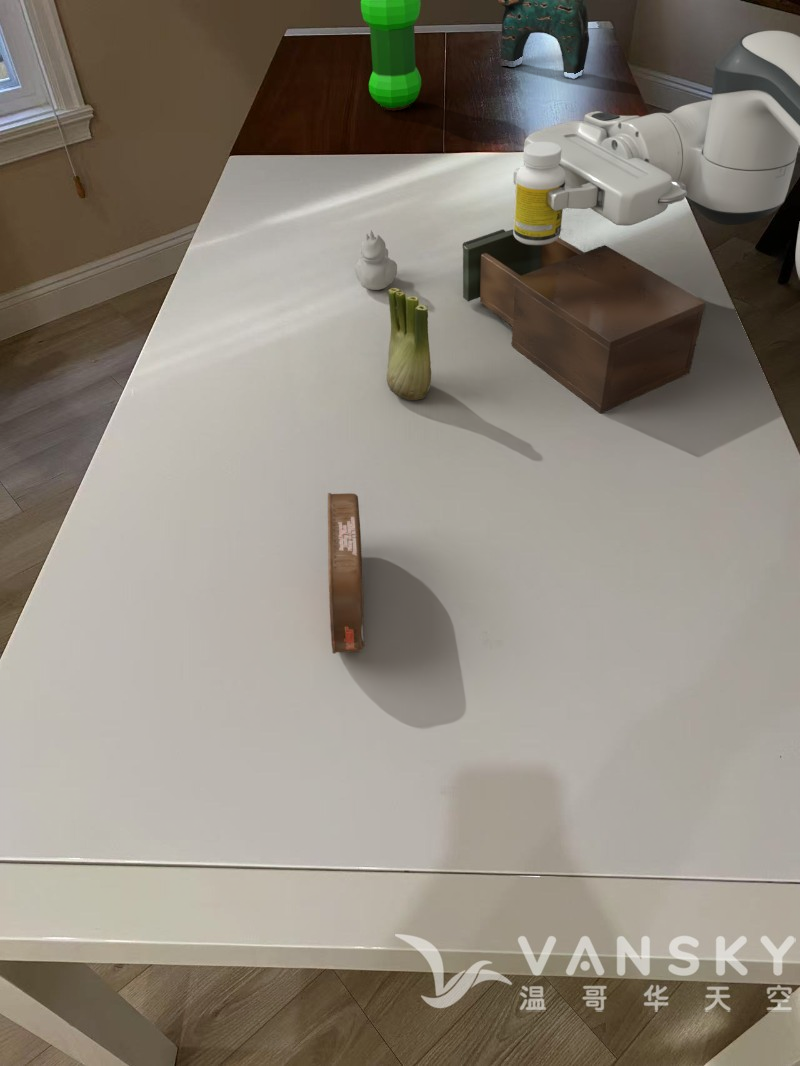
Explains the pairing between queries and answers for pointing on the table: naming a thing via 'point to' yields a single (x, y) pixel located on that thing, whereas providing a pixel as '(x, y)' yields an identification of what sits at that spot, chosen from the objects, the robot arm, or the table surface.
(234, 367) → the table surface
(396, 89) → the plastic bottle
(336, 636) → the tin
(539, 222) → the supplement bottle
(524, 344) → the cabinet
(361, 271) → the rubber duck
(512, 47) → the ceramic cat
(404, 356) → the fennel bulb
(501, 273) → the drawer
